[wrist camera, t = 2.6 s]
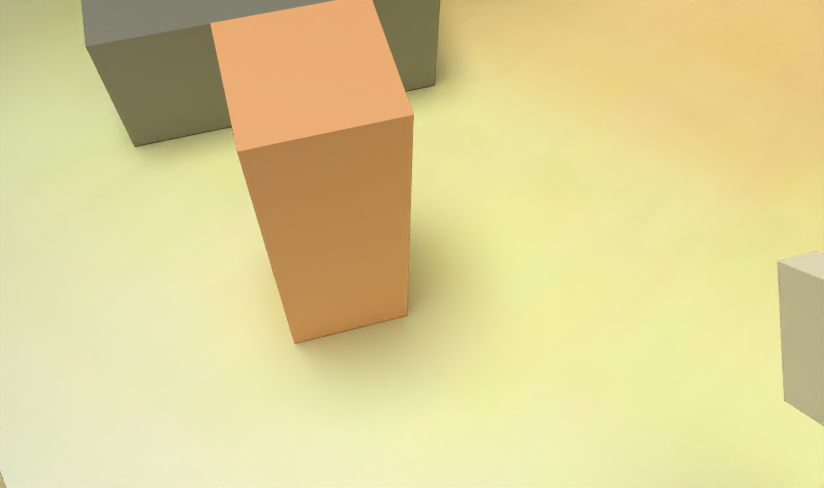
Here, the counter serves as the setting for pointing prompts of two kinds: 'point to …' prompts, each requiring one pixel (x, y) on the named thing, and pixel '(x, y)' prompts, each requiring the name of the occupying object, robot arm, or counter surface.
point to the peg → (324, 159)
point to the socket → (213, 56)
